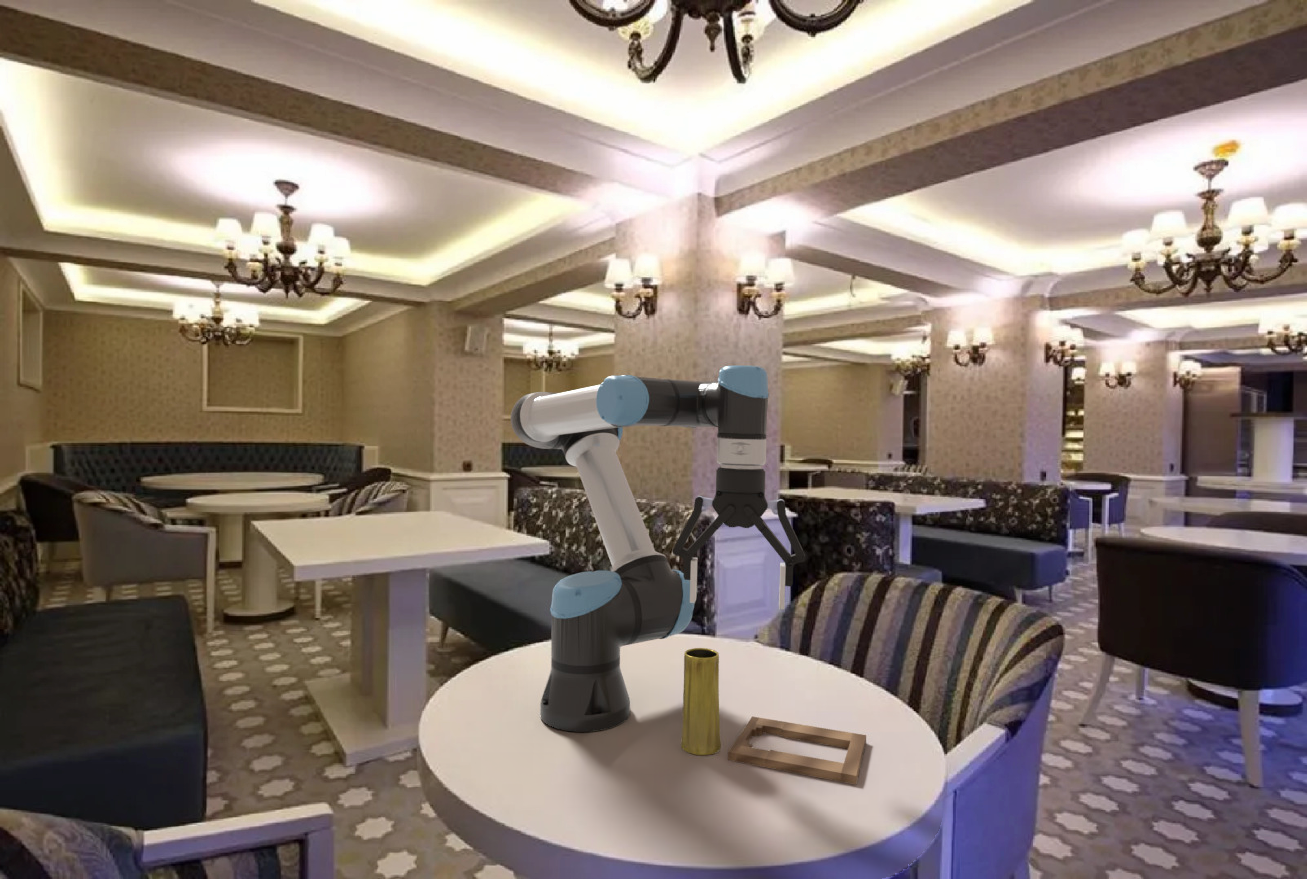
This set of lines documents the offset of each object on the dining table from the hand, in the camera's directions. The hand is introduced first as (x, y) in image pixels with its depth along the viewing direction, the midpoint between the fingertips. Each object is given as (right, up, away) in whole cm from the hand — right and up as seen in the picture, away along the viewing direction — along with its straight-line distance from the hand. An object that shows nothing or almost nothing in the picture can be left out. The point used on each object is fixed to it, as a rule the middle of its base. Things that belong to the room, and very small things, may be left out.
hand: (736, 604), depth 105 cm
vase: (-6, -21, -2) cm, 22 cm away
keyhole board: (+9, -21, -3) cm, 23 cm away
